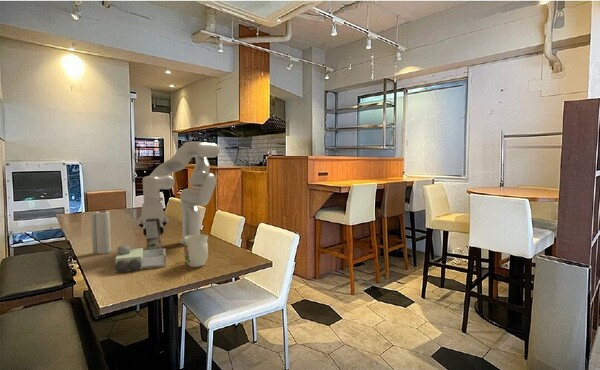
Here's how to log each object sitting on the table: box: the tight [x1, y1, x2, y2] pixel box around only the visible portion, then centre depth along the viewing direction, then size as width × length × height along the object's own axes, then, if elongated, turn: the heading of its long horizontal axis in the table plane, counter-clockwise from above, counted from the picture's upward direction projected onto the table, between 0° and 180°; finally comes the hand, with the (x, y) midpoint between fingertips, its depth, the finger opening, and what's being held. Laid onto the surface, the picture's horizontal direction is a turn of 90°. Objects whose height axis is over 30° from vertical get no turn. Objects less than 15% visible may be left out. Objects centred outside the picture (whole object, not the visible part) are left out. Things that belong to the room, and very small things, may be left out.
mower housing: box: [114, 244, 144, 274], centre depth 152 cm, size 10×18×9 cm, turn 22°
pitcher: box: [183, 233, 209, 268], centre depth 155 cm, size 11×18×14 cm, turn 36°
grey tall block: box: [90, 210, 112, 255], centre depth 172 cm, size 7×6×21 cm
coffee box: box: [145, 220, 162, 250], centre depth 169 cm, size 9×6×16 cm
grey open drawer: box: [141, 247, 167, 270], centre depth 156 cm, size 10×13×5 cm
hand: (153, 235), depth 169 cm, fingers closed on coffee box, 6 cm apart
